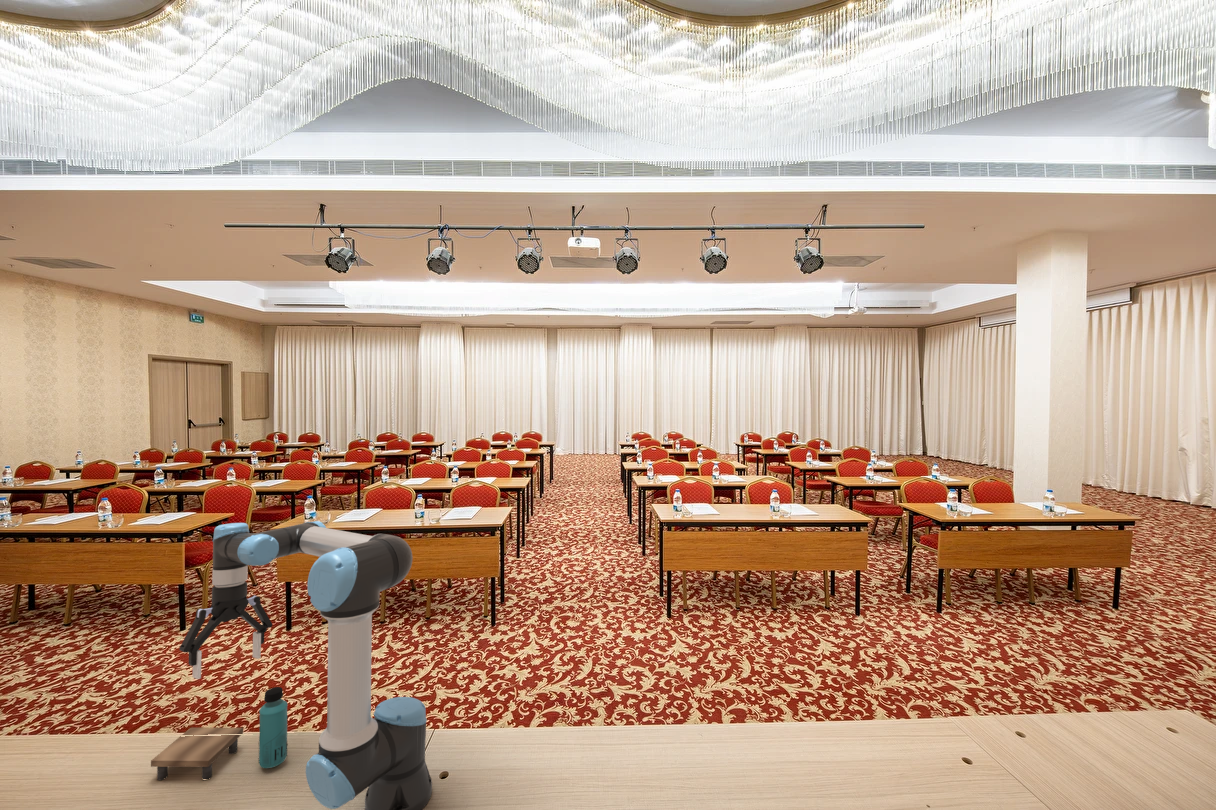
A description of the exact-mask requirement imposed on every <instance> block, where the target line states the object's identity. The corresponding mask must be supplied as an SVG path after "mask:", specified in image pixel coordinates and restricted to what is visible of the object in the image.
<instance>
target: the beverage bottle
mask: <svg viewBox="0 0 1216 810" xmlns="http://www.w3.org/2000/svg"><path fill="white" fill-rule="evenodd" d="M283 697H284V693H283V688H282V687H280V686H275V687H271V688H269V689H267V690H266V691H265V692H264V699H263V701H264V702H265V703H264V704H263V705H262V706H261V707H260V708H259V711H258V712H259V735H258V736H259V737H258V738H259V739H258V754H257V755H258V757H257V759H258V764H259V767H261V768H262V769H270V768H274V767H277V766H279V765H281V764H283V763H284V762H285V760H286V758H287V756H288V745H289V744H288V724H289V723H288V722H289V721H288V718H289V716H288V702H287V701H286V700H285V699H283Z"/></svg>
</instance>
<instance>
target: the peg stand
mask: <svg viewBox="0 0 1216 810" xmlns="http://www.w3.org/2000/svg"><path fill="white" fill-rule="evenodd" d="M208 734H242V735H243V734H244V727H189V728H188V730H186V731H184V733H183V734H182V735H193V736H185V737H181V735H180V736H179V737H177V738H176V740H173V742H172V743H171V744H169V745H168V746H167V747H166V748H164V749H162V751H160V752H159V753H158V754H157V755H156V756H155V757H153V758H152V759H151V760H150V767H152V768H155V767H156V769H157V770H156V773H157V774H156V776H157V777H156V781H163V780H165V779H166V777H167V778H168V775H169V773H168V771H169V770H168V769H169V767H171V768H175V767H176V768H179V767H180V768H182V767H183V768H184V767H187V768H192V767H193V768H194V767H196V768H197V767H198V768H200V767H201V779H202V778H203V779H208V780H210V779H211V778H212V777H213V763H214V762H215V761H216V760H217V759H218V758H219V757H221V755H222V754H223V753H225V752H226V751H227V749H228V755H234V754H236V753H237V752H238V748H239V747H238V746H239V745H238V744H239V742H238V741H239V738H240V737H241V736H242V735H221V736H194V735H208ZM164 778H165V779H164ZM209 778H210V779H209Z"/></svg>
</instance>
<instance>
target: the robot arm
mask: <svg viewBox="0 0 1216 810" xmlns="http://www.w3.org/2000/svg"><path fill="white" fill-rule="evenodd" d="M295 554H305V555H311V556H314V557H315V556H316V557H318V559H316V560H315V561H314V563H313V564H312V566H311V568H310V569H309V570H310V571H309V573H308V576H307V577H308V578H307V594H308V596H309V597H310V600H309V601H310V603H311V604H312V606H313V608H315V609H316V610H318V611H319V612H320V616H321V617H322V618H324V619H325V620H327V625H328V626H327V631H328V632H327V636H328V637H327V693H326V694H327V697H326V698H327V699H326V700H327V709H326V710H327V714H326V715H327V718H326V728H325V729H324V730H323V731H322V732H321V734H320V736H319V738H318V753H315V754H313V755H312V756H311V757H310V758H309V760H308V761H307V762H306V765H305V778H306V783H307V785H308V787H309V790H310V791H311V793H312V795H313V796H314V798H315V799H316V800H317V802H319V804H320V805H321V806H323V807H325V808H327V809H330V810H335V809H339V808H341V807H342V806H344V805H345V804H347V803H348V802H350V801H353V800H354V799H355V798H356V797H357V796H358V795H360V794H361V793H362V792H363V791H365V790H366V789H367V790H366V794H365V796H364V810H421V809H422V810H423V809H424V808H425V807H426V806H427V805H428V803H429V802H430V800H429V799H431V798H430V797H432V793H433V781H432V777H431V775H430V771H429V768H428V765H427V763H426V740H427V739H426V738H427V737H426V735H427V721H428V719H427V716H426V715H427V714H426V705H425V704H424V703H423V702H422V701H421V700H420V699H418V698H415V697H410V696H396V697H390V698H388V699H386V700H385V699H384V700H383V701H381V702H379V704H377V706H376V707H375V709H374V712H373V716H374V718H373V717H372V716H371V715H372V713H371V712H372V711H371V710H372V640H373V639H372V638H373V636H372V634H373V633H372V631H373V629H372V628H373V627H372V626H373V624H372V623H373V622H372V621H373V614H374V612H375V611H376V610H378V609H379V607H380V597H381V596H380V592H383V591H386V590H388V589H390V588H393V587H395V586H396V585H399V584H401V582H402V581H403V580H405V578H406V576H408V574H409V573H410V570H411V568H412V565H413V553H412V548H411V547H410V545H409V544H408V542H407V541H406V540H404V539H403V538H402V537H400V536H397V535H393V534H386V533H377V534H374V535H367V534H362V533H357V532H351V531H345V530H341V529H335V528H328V527H327V526H326V525H325V524H324V523H323V522H321V521H317V520H315V521H307V522H303V523H299V524H294V525H289V526H286V527H281V528H276V529H275V528H274V529H269V530H264V531H260V532H256V533H250V529H249V524H248V523H246V522H231V523H225V524H223V523H222V524H219V525H218V526H215V527H214V531H213V539H212V580H211V581H212V582H211V584H212V588H211V606H210V607H209V608H201V607H200V608H197V610H196V613H195V618H194V620H193V622H192V623H191V626H190V627H189V630H188V631H187V633H186V635H185V637H184V639H183V641H182V642H181V644H180V646H179V649H178V650H179V651H181V652H183V653H188V665H189V666H190V667H192V678H194V679H196V680H200V679H202V650H200V648H201V647H202V646H203V644H204V643H205V642H206V641H207V639H208V638H209V637H210V635H212V633H213V632H214V630H215V629H216V628H217V627H219V625H221V623H226V622H227V623H228V622H229V621H233V620H238V618H241V619H242V620H244V621H245V622H246V623H247V624H248V625H249V626H251V627H252V628H253V629H254V630H256V631H254V632H252V658H255V659H256V660H258V659H261V657H262V656H261V653H262V652H261V651H262V650H261V649H262V645H263V644H264V643H265V633H266V632H267V630H268V629H271V628H272V627H273V623H272V620H271V619H270V617H269V616H268V614H267V612H266V611H265V609H264V607H263V605H262V604H261V603H262V601H261V597H260V596H258V595H251V597H249V598H248V597H247V596H248V582H247V580H248V576H249V575H248V574H249V573H248V571H249V569H248V566H253V567H257V566H266V565H268V564H269V563H271V562H272V561H273V560H275V559H280V558H282V557H287V556H290V555H295ZM248 605H249V606H251V607H252V608H253V610H254V613H255V614H256V615H257V617H258V619H259V620H260V622H261V623H262V624H261V623H260V622H258V620H256V619H255V618H254V617H253V616H252V615H250V613H249V612H247V611H246V610H245V609H246V608H247V607H248ZM209 614H211V615H212V616H211V617H210V619H209V620H208V621H207V624H206V625H205V626H204V628H202V627H203V624H204V623H205V620H206V618H208V616H209ZM201 629H202V630H201ZM428 801H429V802H428ZM426 804H427V805H426Z"/></svg>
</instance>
